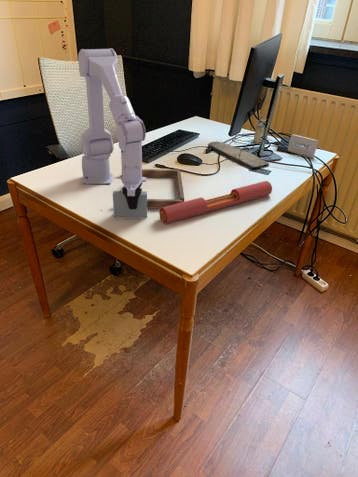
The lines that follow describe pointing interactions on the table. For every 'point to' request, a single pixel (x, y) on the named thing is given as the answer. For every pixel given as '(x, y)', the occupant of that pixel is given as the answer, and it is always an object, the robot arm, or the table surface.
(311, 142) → the cassette
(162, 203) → the rack
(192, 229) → the table surface
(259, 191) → the blood vessel
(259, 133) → the lighter
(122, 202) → the grey upright plank
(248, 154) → the stone slab
